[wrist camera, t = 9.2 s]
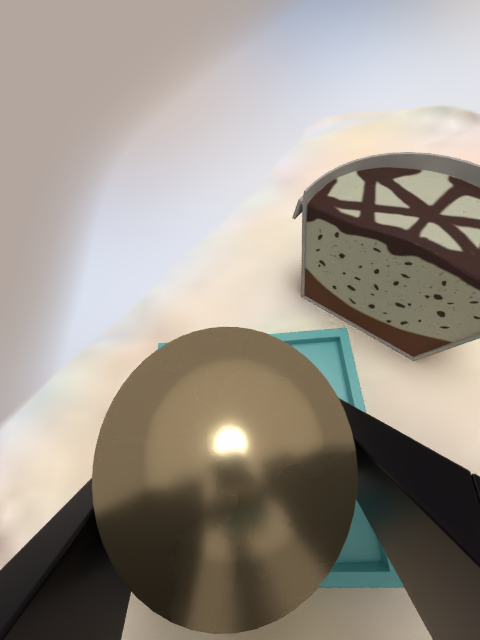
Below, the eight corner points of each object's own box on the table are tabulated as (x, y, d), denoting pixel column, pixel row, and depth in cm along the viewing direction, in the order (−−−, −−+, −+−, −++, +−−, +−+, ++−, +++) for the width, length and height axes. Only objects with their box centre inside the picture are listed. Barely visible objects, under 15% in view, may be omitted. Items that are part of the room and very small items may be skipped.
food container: (468, 308, 20) (633, 200, 11) (434, 373, 18) (595, 311, 9) (324, 240, 24) (354, 120, 15) (286, 288, 22) (295, 187, 13)
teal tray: (393, 573, 14) (406, 587, 13) (149, 573, 16) (137, 586, 14) (341, 335, 20) (346, 327, 19) (165, 349, 21) (158, 343, 20)
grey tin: (264, 532, 12) (243, 743, 4) (181, 452, 13) (42, 473, 5) (324, 432, 13) (408, 421, 5) (242, 371, 15) (205, 290, 7)
